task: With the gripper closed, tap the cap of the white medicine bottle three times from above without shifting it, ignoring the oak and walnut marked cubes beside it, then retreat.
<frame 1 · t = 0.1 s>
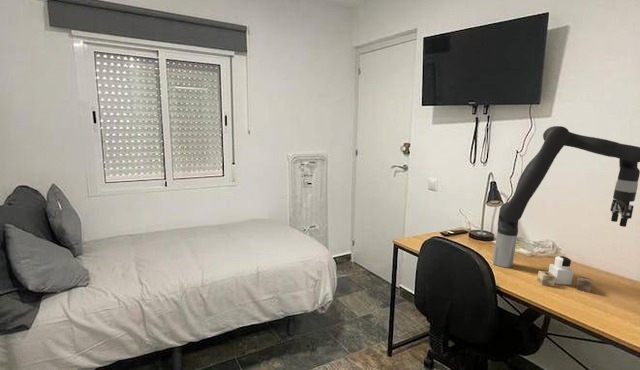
hand: (618, 223, 158), 29 cm above the table, fingers open, 8 cm apart
oak cube: (545, 283, 158), on the table
walnut cube: (582, 289, 154), on the table
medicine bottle: (558, 281, 161), on the table
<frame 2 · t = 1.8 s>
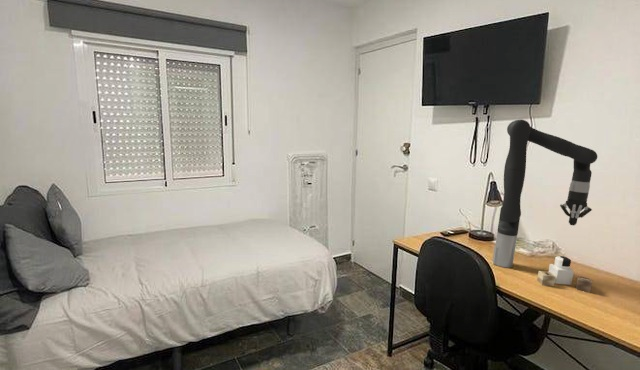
hand: (572, 224, 165), 26 cm above the table, fingers closed
nothing on the table moved.
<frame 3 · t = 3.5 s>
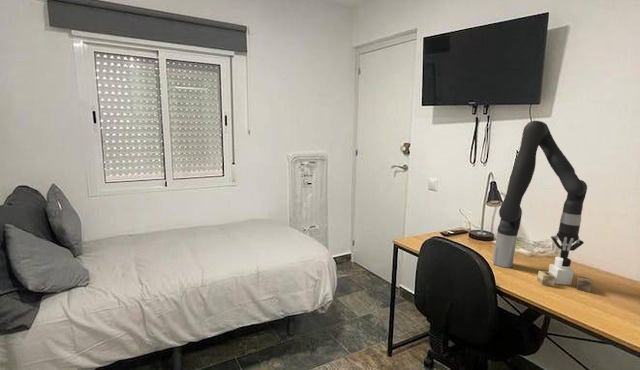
hand: (563, 257, 159), 12 cm above the table, fingers closed
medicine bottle: (558, 281, 161), on the table, touching gripper
everything else where it was.
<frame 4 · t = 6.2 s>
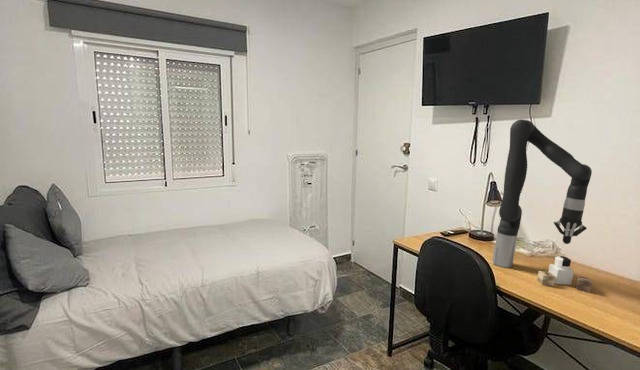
hand: (566, 243, 158), 19 cm above the table, fingers closed
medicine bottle: (558, 281, 161), on the table
everything else where it was.
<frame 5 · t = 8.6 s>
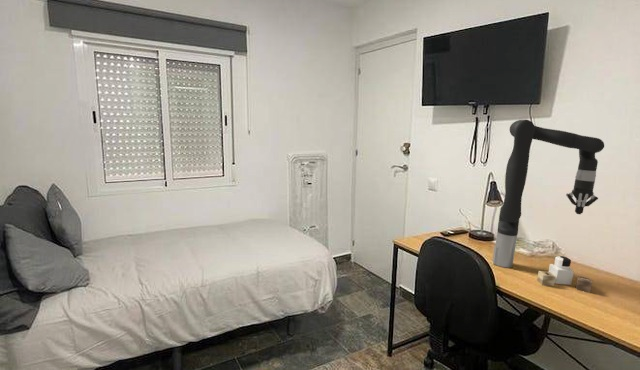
hand: (578, 213, 166), 31 cm above the table, fingers closed
nothing on the table moved.
at the end: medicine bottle moved 0.2 cm from its start; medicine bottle tilted 0°; walnut cube moved 0.1 cm from its start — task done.
